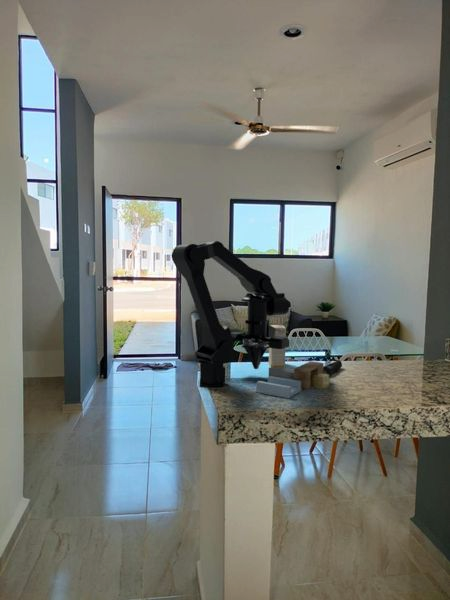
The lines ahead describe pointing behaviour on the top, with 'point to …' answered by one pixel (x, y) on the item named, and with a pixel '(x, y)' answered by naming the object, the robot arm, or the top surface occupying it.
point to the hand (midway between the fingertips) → (256, 368)
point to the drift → (281, 372)
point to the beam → (307, 373)
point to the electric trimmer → (332, 367)
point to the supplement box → (277, 354)
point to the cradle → (279, 387)
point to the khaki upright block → (319, 380)
